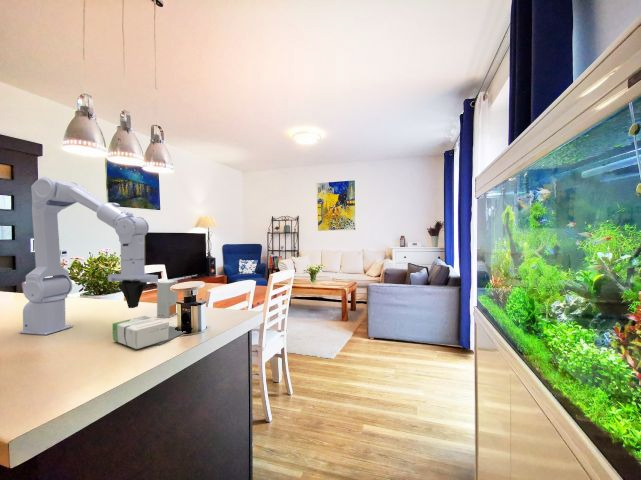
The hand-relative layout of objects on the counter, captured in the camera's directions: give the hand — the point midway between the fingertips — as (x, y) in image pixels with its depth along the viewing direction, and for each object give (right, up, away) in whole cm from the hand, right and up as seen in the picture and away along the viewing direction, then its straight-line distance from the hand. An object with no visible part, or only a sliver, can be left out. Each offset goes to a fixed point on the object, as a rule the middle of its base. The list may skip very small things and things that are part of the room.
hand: (133, 307), depth 86 cm
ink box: (+1, -5, -3) cm, 6 cm away
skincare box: (0, -7, +19) cm, 21 cm away
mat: (+8, -8, -1) cm, 11 cm away
